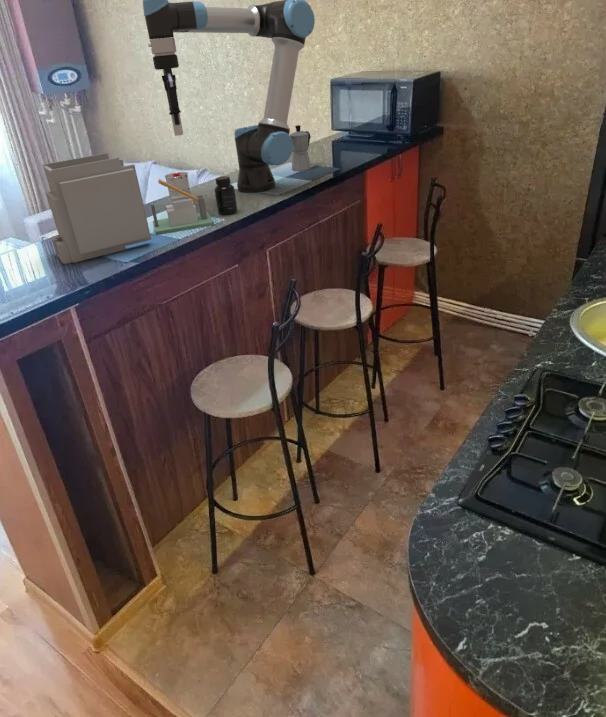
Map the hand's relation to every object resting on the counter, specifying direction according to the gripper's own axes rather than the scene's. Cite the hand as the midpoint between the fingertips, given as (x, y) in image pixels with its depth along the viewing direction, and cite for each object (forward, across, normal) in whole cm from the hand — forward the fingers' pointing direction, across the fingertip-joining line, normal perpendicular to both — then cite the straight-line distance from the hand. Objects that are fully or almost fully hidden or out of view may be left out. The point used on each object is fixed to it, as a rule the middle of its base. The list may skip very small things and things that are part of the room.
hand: (179, 135), depth 189 cm
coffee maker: (+26, -47, +54) cm, 76 cm away
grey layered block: (+27, +23, -29) cm, 46 cm away
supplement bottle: (+27, +6, +12) cm, 30 cm away
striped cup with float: (+27, -11, -3) cm, 29 cm away
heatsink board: (+27, +11, -4) cm, 29 cm away
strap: (+16, +11, -4) cm, 20 cm away
